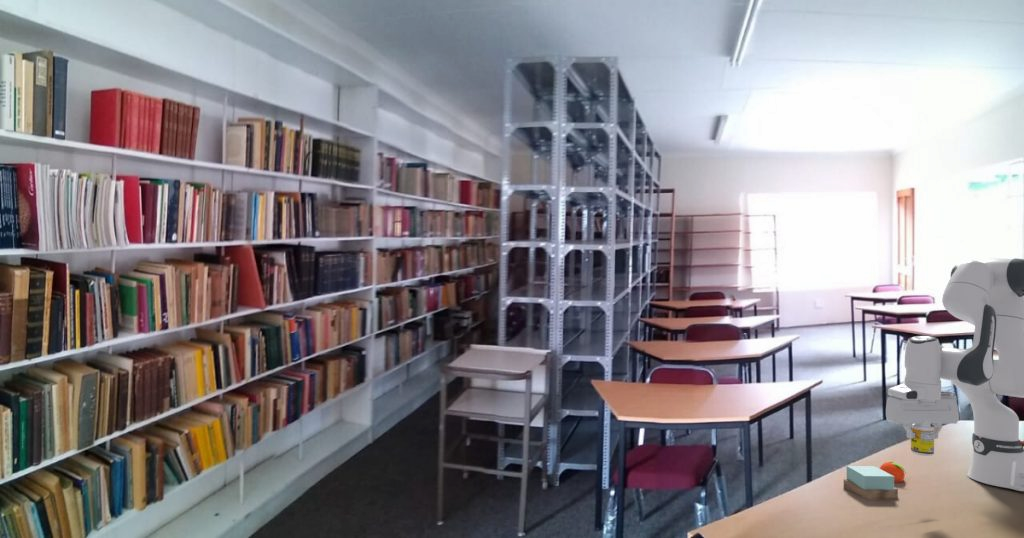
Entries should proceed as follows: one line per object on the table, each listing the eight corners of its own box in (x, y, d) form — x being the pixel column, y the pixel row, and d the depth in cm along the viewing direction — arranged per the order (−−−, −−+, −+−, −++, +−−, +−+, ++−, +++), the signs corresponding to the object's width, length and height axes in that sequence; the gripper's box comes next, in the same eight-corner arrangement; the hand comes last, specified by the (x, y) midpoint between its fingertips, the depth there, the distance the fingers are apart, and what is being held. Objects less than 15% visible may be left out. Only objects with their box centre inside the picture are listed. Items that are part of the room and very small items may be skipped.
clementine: (912, 486, 183) (913, 464, 183) (899, 490, 180) (899, 467, 180) (887, 478, 191) (887, 457, 191) (874, 481, 188) (874, 459, 188)
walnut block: (869, 489, 182) (869, 477, 182) (897, 501, 172) (897, 488, 172) (843, 492, 179) (843, 479, 179) (870, 504, 169) (870, 491, 169)
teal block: (874, 478, 180) (875, 466, 180) (894, 489, 171) (894, 476, 171) (846, 478, 180) (846, 465, 180) (864, 489, 171) (864, 476, 171)
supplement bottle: (908, 449, 172) (908, 415, 172) (930, 452, 169) (930, 417, 170) (913, 455, 166) (913, 420, 166) (936, 457, 164) (936, 422, 164)
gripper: (947, 389, 172) (947, 435, 172) (882, 389, 171) (882, 435, 171) (965, 393, 166) (964, 441, 165) (897, 393, 164) (897, 441, 164)
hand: (922, 438), depth 168 cm, fingers closed on supplement bottle, 5 cm apart
